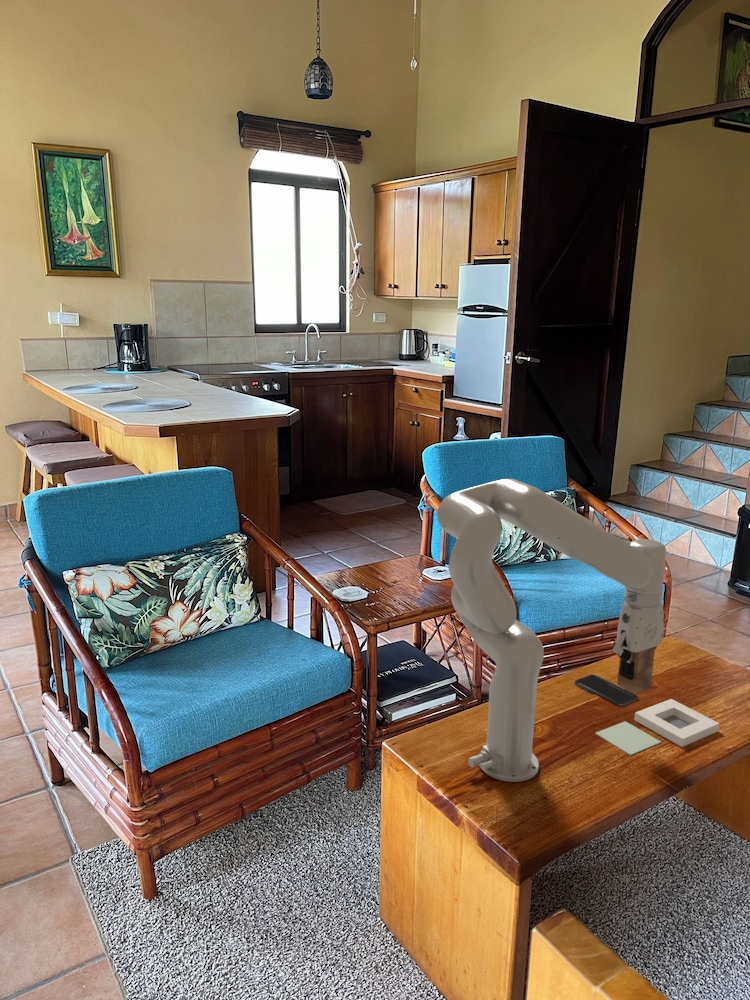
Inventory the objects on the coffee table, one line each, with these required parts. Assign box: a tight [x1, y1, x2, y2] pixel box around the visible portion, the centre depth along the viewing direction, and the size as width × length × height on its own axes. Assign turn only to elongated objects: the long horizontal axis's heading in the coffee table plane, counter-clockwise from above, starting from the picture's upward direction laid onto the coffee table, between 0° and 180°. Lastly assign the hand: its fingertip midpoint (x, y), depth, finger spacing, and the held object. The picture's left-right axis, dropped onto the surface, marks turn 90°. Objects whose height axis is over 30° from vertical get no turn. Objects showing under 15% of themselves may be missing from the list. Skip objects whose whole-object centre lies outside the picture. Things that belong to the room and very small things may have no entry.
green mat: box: [594, 720, 662, 756], centre depth 166 cm, size 10×10×1 cm
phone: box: [574, 674, 640, 707], centre depth 188 cm, size 8×1×15 cm
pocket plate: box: [633, 698, 720, 748], centre depth 172 cm, size 13×13×2 cm
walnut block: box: [616, 647, 656, 695], centre depth 162 cm, size 5×5×10 cm
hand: (635, 673), depth 163 cm, fingers closed on walnut block, 5 cm apart
